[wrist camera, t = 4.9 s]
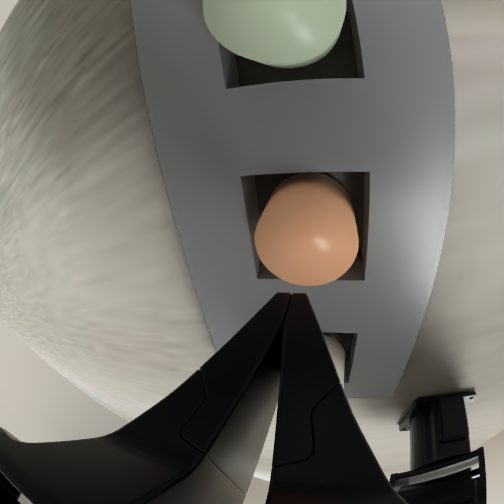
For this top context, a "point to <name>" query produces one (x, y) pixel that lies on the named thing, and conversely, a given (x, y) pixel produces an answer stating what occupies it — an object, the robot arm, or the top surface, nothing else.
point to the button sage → (276, 29)
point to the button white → (337, 356)
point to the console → (309, 169)
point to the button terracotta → (308, 230)
